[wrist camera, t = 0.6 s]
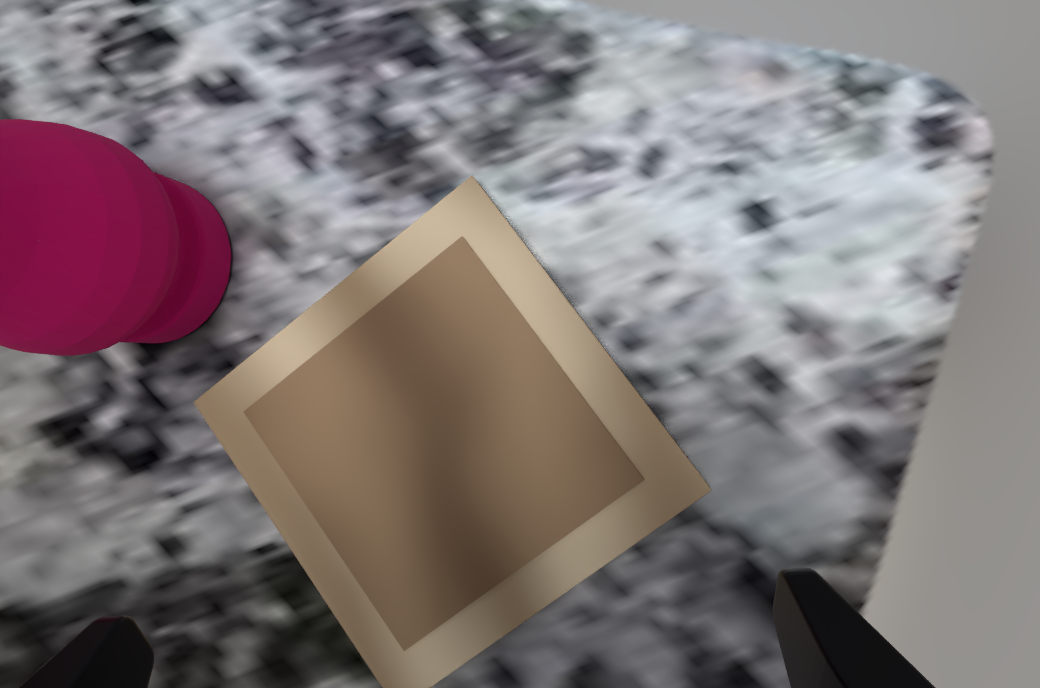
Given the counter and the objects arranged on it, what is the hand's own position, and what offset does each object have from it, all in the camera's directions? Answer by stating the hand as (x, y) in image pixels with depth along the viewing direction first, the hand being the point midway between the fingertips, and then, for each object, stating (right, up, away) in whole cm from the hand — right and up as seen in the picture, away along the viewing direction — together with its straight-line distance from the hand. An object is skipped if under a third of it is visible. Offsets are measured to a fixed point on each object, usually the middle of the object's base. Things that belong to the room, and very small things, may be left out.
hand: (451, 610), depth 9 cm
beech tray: (-2, 0, +14) cm, 14 cm away
